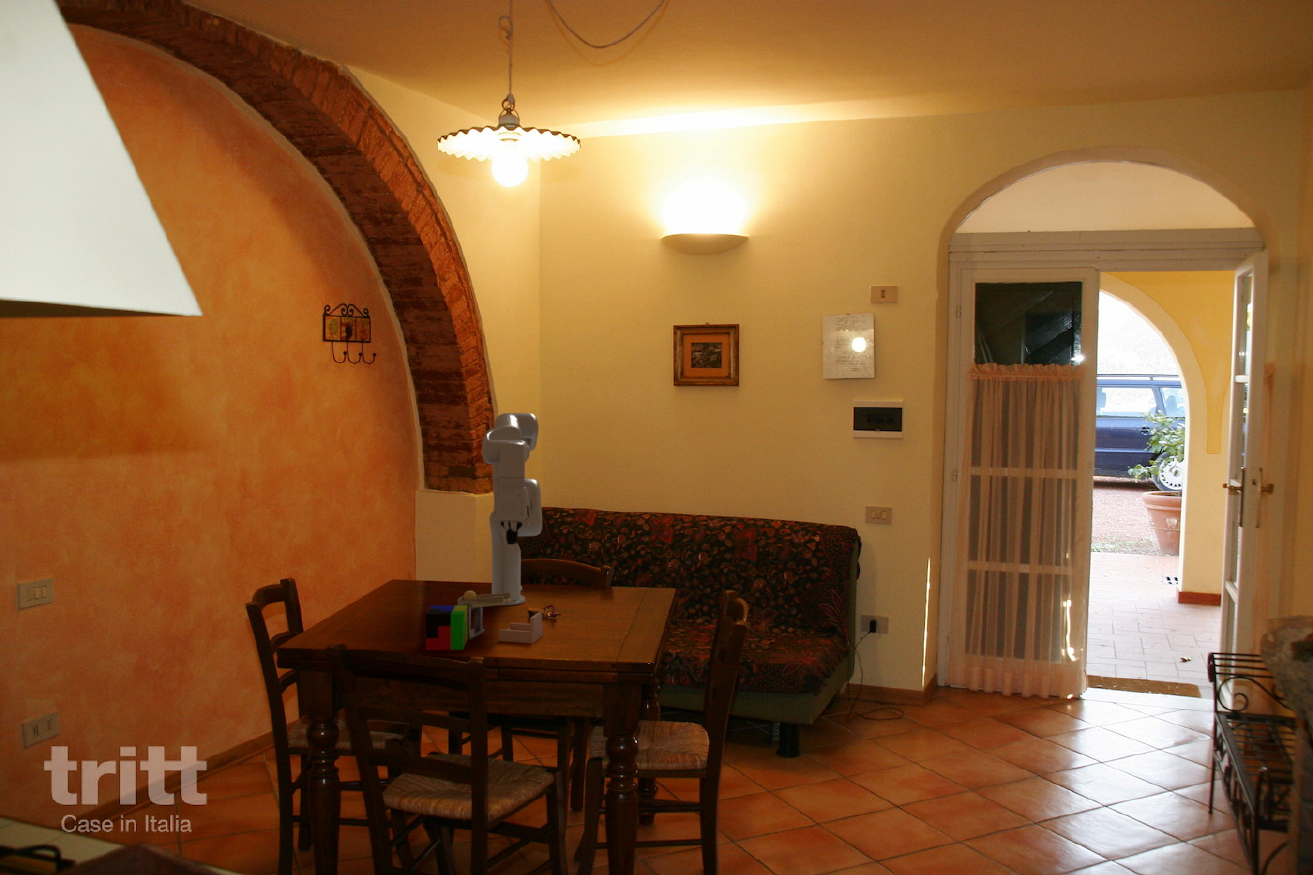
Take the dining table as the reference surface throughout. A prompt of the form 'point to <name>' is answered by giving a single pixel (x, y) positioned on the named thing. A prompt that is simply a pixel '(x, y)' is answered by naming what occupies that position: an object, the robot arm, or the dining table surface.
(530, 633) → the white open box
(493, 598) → the lever
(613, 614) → the dining table surface
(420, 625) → the dining table surface
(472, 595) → the ball
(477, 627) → the stand
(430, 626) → the puzzle toy
